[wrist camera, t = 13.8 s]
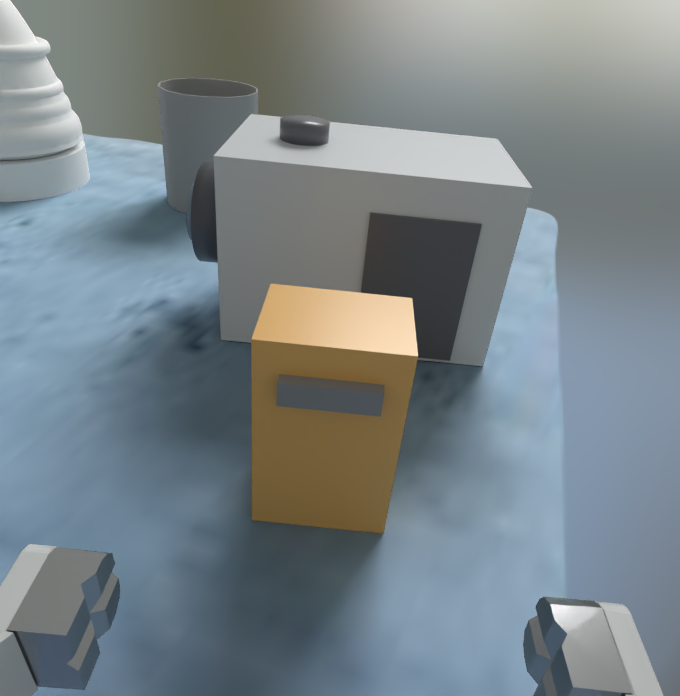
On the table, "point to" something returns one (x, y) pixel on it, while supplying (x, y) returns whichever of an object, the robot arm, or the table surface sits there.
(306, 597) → the table surface
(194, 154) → the cup
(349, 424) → the tan box with label
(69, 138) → the honey pot
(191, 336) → the table surface
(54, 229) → the table surface
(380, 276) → the camera housing
